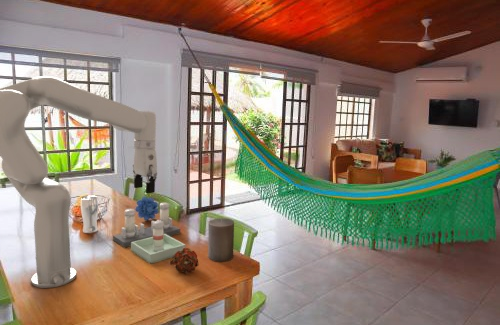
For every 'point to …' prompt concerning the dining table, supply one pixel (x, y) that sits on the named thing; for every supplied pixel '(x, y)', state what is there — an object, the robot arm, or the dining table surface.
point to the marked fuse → (158, 236)
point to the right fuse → (164, 214)
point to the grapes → (147, 208)
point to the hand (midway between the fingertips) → (144, 190)
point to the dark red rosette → (185, 260)
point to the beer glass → (89, 213)
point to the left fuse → (130, 223)
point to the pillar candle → (221, 239)
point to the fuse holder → (143, 233)
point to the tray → (146, 251)
